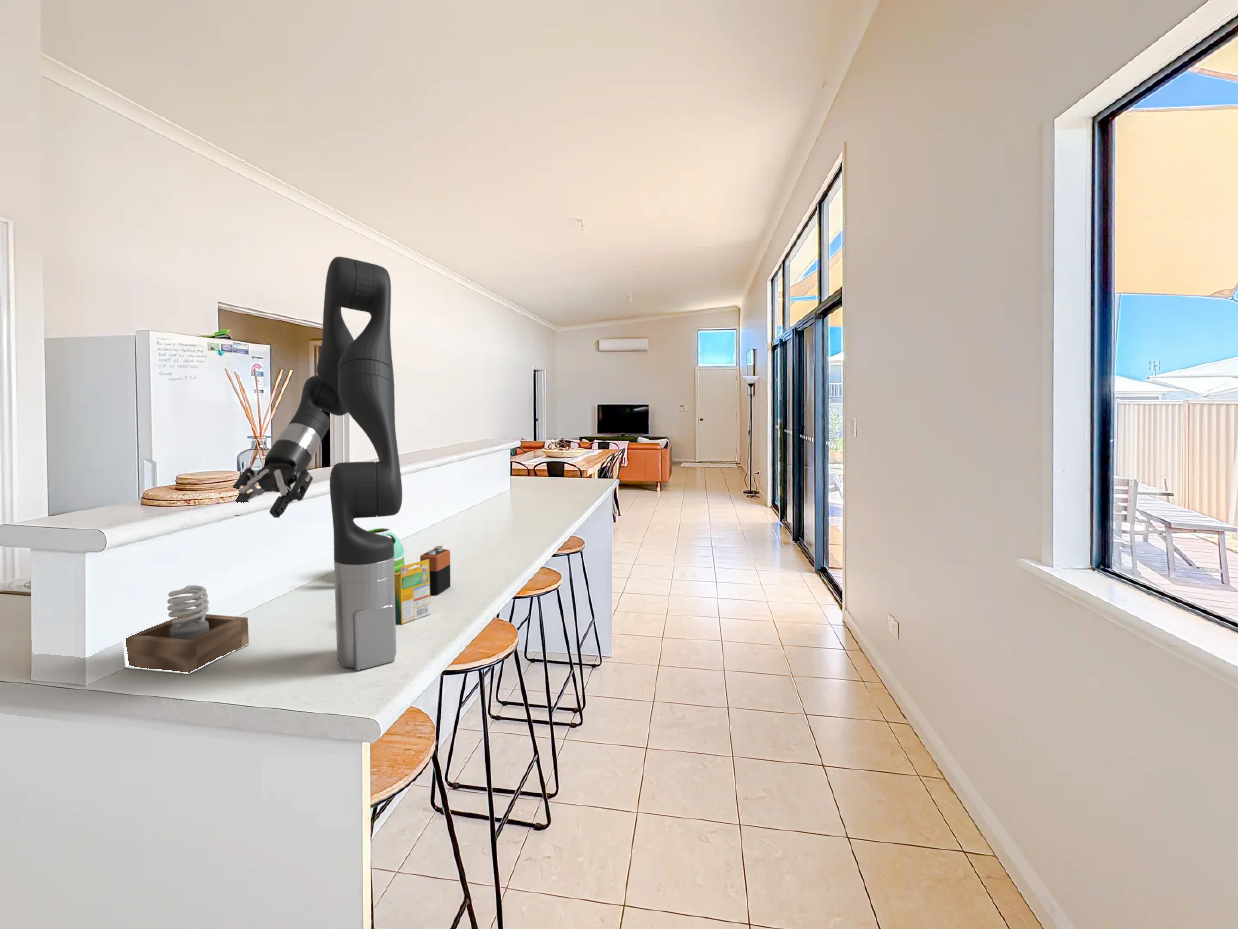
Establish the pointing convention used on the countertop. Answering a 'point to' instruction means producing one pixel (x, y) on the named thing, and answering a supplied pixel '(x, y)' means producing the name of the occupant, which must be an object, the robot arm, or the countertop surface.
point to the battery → (438, 569)
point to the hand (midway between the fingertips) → (253, 514)
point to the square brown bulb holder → (186, 644)
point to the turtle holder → (398, 546)
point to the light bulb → (188, 612)
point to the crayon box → (412, 592)
